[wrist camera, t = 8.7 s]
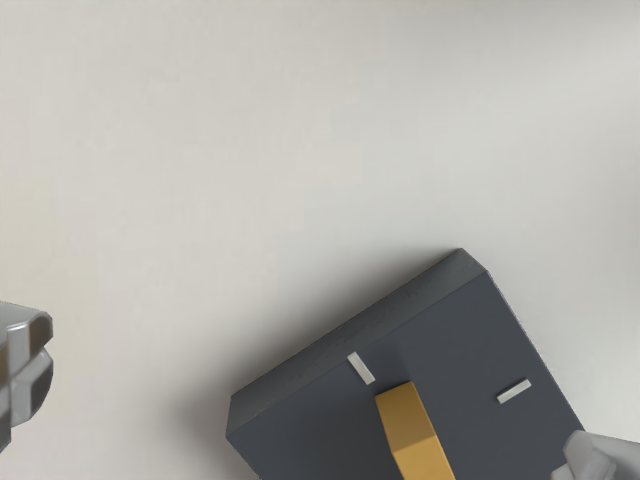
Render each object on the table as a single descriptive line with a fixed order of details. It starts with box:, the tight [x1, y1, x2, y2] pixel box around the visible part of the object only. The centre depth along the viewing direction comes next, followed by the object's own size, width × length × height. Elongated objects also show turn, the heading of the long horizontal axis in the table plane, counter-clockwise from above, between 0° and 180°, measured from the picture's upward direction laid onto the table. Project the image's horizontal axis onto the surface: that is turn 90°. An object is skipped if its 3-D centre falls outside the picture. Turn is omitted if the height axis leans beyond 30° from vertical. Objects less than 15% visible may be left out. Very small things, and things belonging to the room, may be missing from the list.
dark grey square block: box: [225, 248, 586, 480], centre depth 24 cm, size 12×10×3 cm
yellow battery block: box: [375, 381, 456, 480], centre depth 21 cm, size 6×2×4 cm, turn 23°
